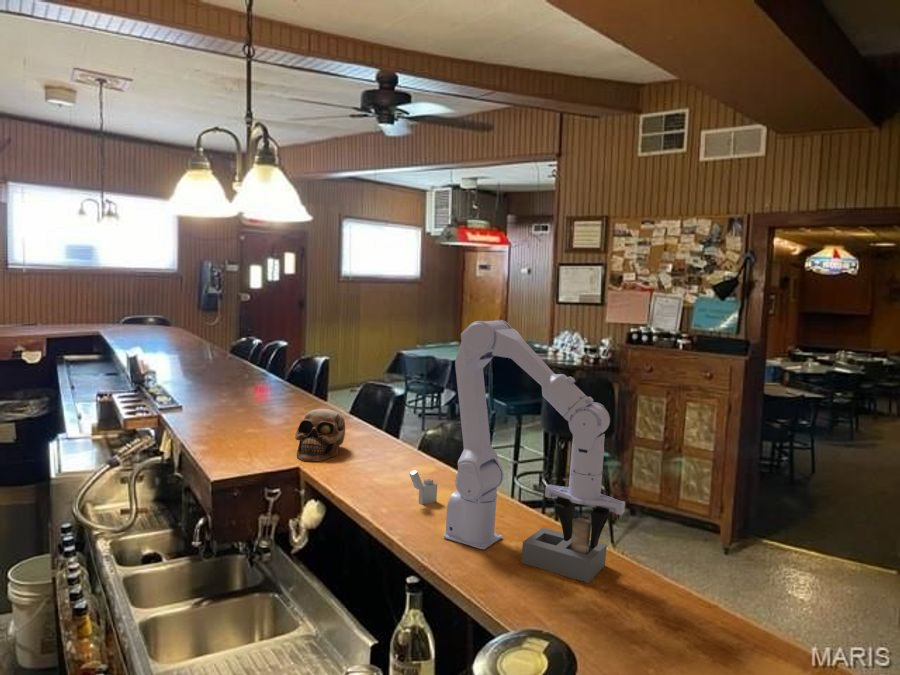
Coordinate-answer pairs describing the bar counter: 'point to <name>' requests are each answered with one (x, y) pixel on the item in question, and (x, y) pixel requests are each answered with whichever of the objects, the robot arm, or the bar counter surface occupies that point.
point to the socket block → (562, 555)
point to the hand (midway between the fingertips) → (580, 542)
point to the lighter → (424, 488)
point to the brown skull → (320, 435)
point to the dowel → (581, 535)
